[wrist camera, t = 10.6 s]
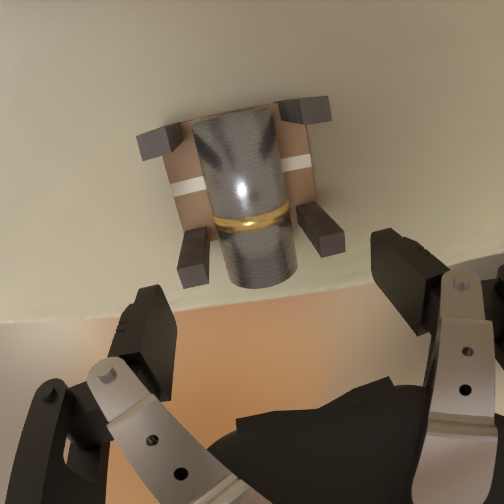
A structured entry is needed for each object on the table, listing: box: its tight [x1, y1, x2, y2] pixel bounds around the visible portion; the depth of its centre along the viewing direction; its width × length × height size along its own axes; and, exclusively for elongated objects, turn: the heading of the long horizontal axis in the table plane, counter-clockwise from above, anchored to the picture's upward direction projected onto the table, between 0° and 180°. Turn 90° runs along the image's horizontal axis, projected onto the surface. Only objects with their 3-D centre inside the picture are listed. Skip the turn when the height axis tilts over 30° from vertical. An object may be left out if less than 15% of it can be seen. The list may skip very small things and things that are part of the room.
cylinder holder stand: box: [136, 96, 346, 289], centre depth 20 cm, size 10×9×7 cm
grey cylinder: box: [191, 106, 297, 289], centre depth 20 cm, size 11×5×5 cm, turn 11°
